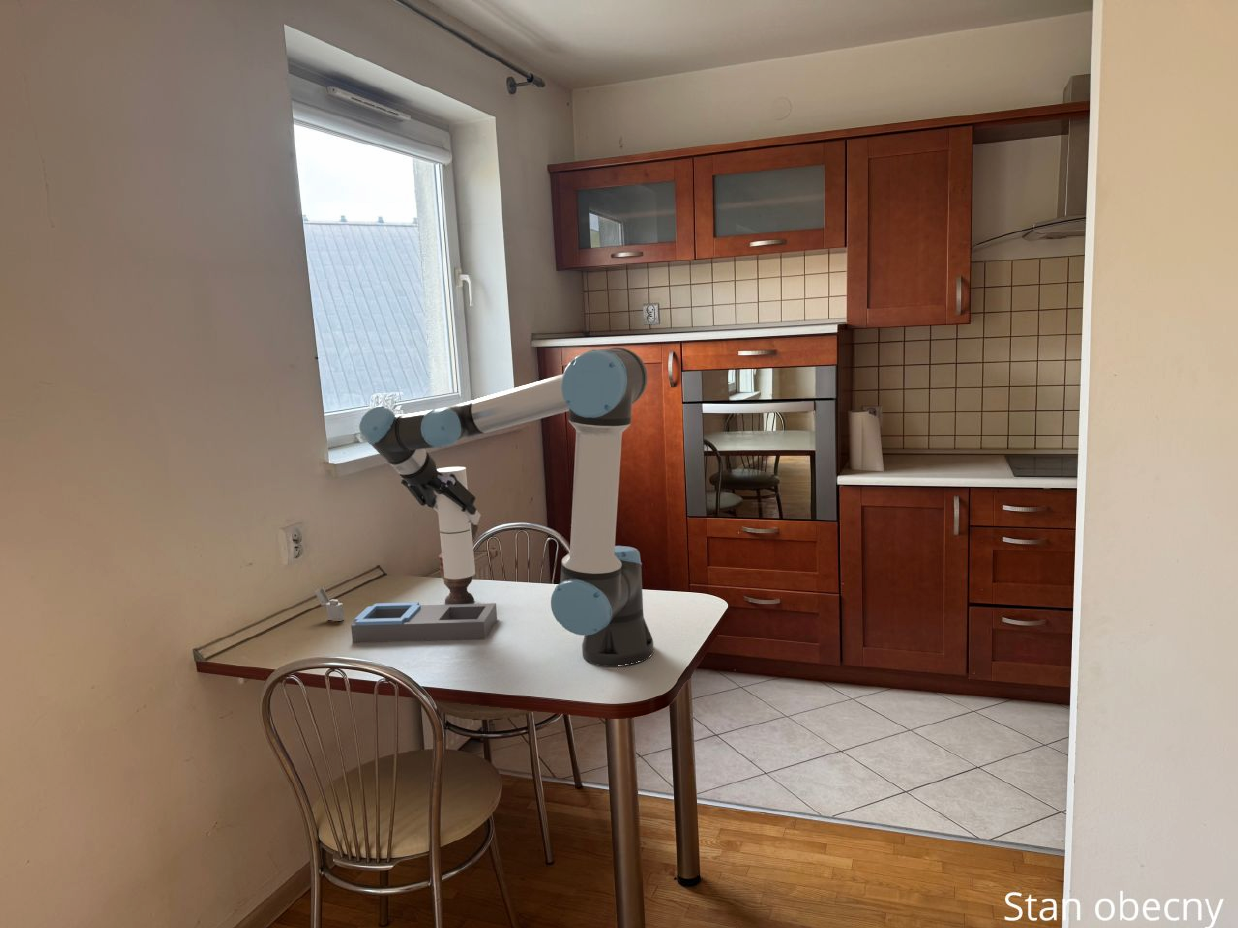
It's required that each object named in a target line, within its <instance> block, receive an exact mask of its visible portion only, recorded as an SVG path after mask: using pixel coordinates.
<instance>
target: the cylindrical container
mask: <svg viewBox="0 0 1238 928" xmlns="http://www.w3.org/2000/svg"><path fill="white" fill-rule="evenodd" d="M437 471H439V472H440V473H442V474H443V476H447V477H449V476H450V474H454V475H455V477H456V478H457V480H458V481H459V482H460V483H461V484H462V485H463V486H464V487H465V488H466V489H467V490H468V491H469V489H468V478H467V467H465V466H447V467H439V468H437ZM435 495H436V496H437V498H436V501H437V506H438V513H437V517H438V527H439V536H440V545H441V546H440V547H441V548H440V549H441V553H442V559H443V569H444V577H445V578H447V579H463V578H468V577H471V576H473V577H474V576H475V574H476V568H475V567H476V566H475V557H474V555H475V554H474V544H473V541H472V532H471V523H472V522H471V521H470V519H469V518H468V517H467V516H466V515H465V514H464V513H463V512H462V511H461V507H460V506H459V505H458V504H456V503H455V502H453V501H452V500H450V499H449V498H448V497H446V496H445V495H443V494H438V493H437V492H435Z"/></svg>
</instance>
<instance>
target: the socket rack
mask: <svg viewBox="0 0 1238 928" xmlns="http://www.w3.org/2000/svg"><path fill="white" fill-rule="evenodd" d="M497 620H498V612H497V603H494V602H490V603H470V604H452V605H445V604H430V605H429V604H425V605H424V604H422V605H421V604H420V602H419V601H418V602H415V601H413V602H387V603H386V602H385V603H384V602H383V603H381V602H380V603H374V604H373V605H372V606H371V605H370V606H367V607H366V608H364V610H362V612H360V613H359V614H358V615H357V616H356V617H354V619H353V623H352V624H351V625H350V626H351V638H352V642H353V643H360V642H361V643H364V642H366V643H368V642H374V643H375V642H407V641H408V642H409V641H414V642H415V641H445V640H446V641H449V640H482V639H483V640H484V639H486V637H487V636H488V635H489V633H490V631H491V629H492V628H494V627H493V626H494V625H495V624H496V622H497Z"/></svg>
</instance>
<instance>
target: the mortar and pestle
mask: <svg viewBox="0 0 1238 928" xmlns="http://www.w3.org/2000/svg"><path fill="white" fill-rule="evenodd" d="M478 529H479V526H478V524H477V525H474V524H473V523H472V522H471V532H472V542H473V540H474V539H475V538H476V535H477V533H478ZM438 560H439V570H440V571H439V572H440V576H441V578H442V580H443V584H444V586H446V588H448V590H449V593H448V595H446V596H445V598H444V605H452V604H473V602H474V601H475V598H474V596H473V594H472V593H470V592H469V591H468V587H469V586H470V585H471V583H472V581H473V577H474V575H473V576H471V577H468V578H463V579H447V578H445V577H444V569H443V559H442V552H441V553H440V554H439V555H438Z"/></svg>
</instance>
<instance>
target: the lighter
mask: <svg viewBox="0 0 1238 928" xmlns="http://www.w3.org/2000/svg"><path fill="white" fill-rule="evenodd" d="M314 592H315V594H316V597H317V598H318V601H319V603H320V604H321V606H325V608H326V609H325V610H326V617H327V621H328V620H335V621H342V620H344V621H345V614H344V604H343V603H342V602H339V600H338V599H335V598H332V599H329V596H328V593H327V592H326V591H325V588H324V587H321V588H318V589H317V590H315V591H314ZM342 622H343V621H342Z"/></svg>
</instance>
